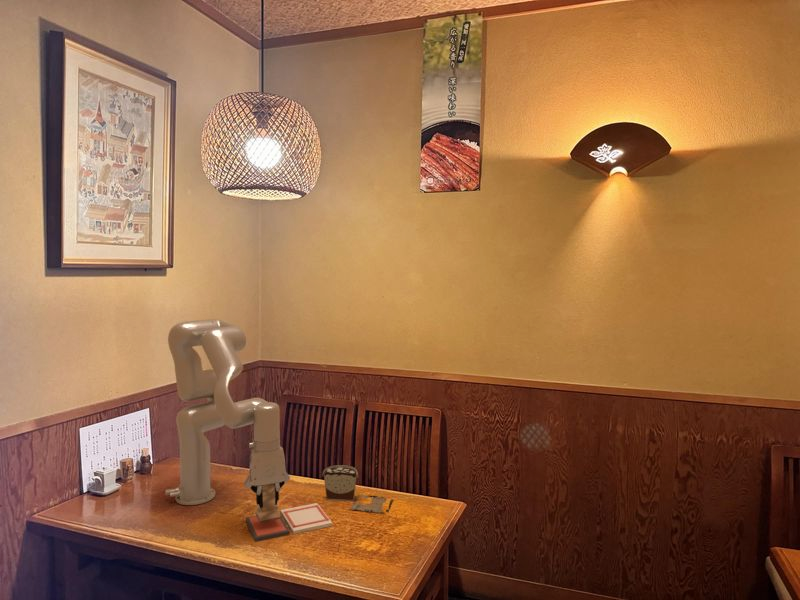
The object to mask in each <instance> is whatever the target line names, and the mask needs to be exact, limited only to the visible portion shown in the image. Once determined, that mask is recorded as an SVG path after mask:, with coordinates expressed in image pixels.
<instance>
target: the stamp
mask: <svg viewBox="0 0 800 600" xmlns="http://www.w3.org/2000/svg"><path fill="white" fill-rule="evenodd" d="M261 493H262V495H263V507H262V508H260V507H259V505H256V506H255V516H257V518H258V520H259V522H260V523H262V522H266V521H271V520H276V519H280V516H281V509H280V508H279V506H278V504H277V505H275V484H269V485H263V486H262V489H261Z"/></svg>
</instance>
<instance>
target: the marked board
mask: <svg viewBox="0 0 800 600" xmlns="http://www.w3.org/2000/svg"><path fill="white" fill-rule="evenodd" d="M280 515H281V517H282V519H283V520H284V522H285V524H286V525H287V527H288V529H289V530H290V532H291V533H292V534H293V535H297V534H301V533H306V532H310V531H314V530H315V531H316V530H319V529H324V528H329V527H333V522H332V521H331V519H330V518H329V516H328V515H327V513H325V512H324V510H323V509H322V508H321V506H320V505H319V504H318V503H317V502H315V503H310V504H304V505H299V506H296V507H291V508H290V507H289V508H285V509H280Z"/></svg>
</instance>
